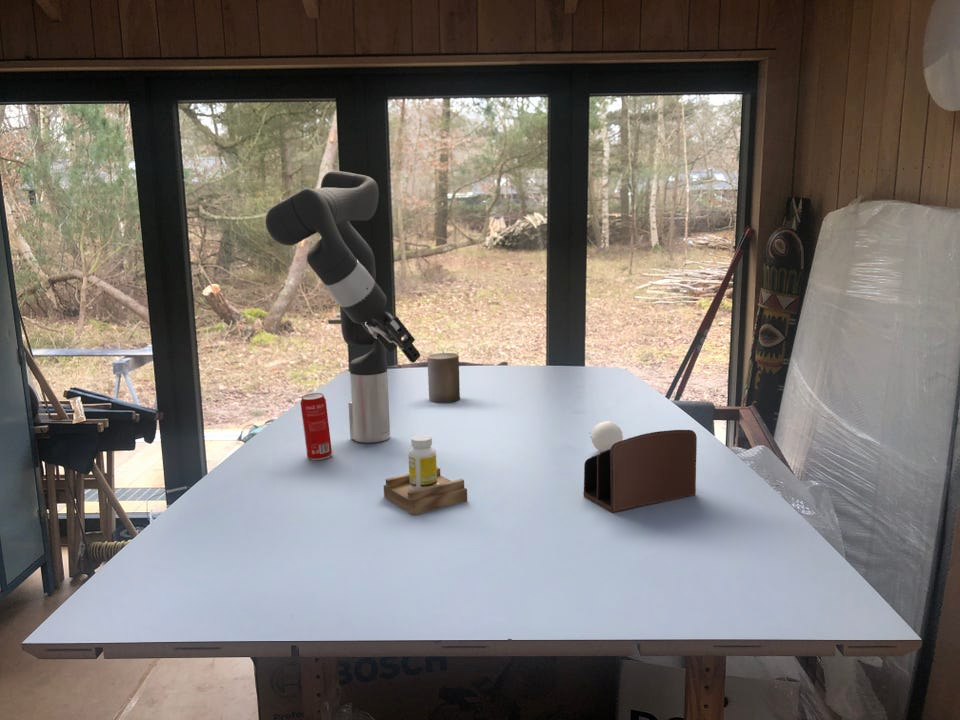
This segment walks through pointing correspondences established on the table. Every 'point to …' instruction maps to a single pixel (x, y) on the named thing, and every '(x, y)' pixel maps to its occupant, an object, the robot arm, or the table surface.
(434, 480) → the supplement bottle
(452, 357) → the pillar candle
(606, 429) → the white egg shape
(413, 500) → the display plinth
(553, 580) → the table surface
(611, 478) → the letter holder
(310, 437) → the beverage can
